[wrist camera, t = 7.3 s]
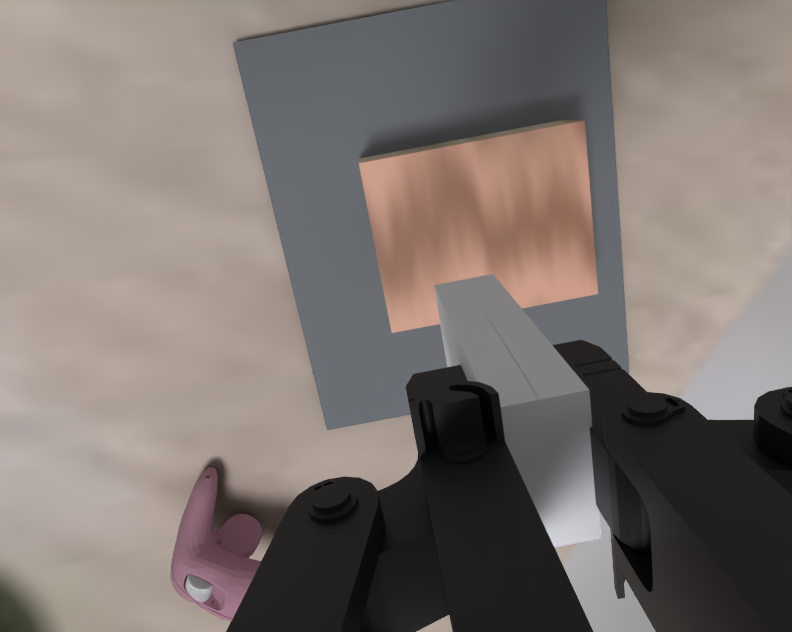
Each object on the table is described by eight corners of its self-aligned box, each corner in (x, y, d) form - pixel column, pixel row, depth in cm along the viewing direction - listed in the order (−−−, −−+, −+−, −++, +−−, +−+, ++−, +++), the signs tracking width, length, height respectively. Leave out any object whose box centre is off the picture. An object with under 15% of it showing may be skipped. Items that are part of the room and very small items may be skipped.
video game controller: (194, 496, 37) (151, 615, 32) (200, 457, 34) (153, 582, 29) (350, 532, 39) (332, 652, 34) (370, 498, 36) (353, 624, 31)
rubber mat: (235, 44, 28) (232, 42, 28) (598, -26, 28) (603, -28, 28) (327, 424, 35) (327, 430, 34) (624, 368, 35) (629, 373, 34)
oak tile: (358, 163, 27) (584, 120, 27) (358, 158, 30) (562, 119, 30) (391, 333, 29) (598, 293, 29) (388, 313, 32) (577, 278, 32)
